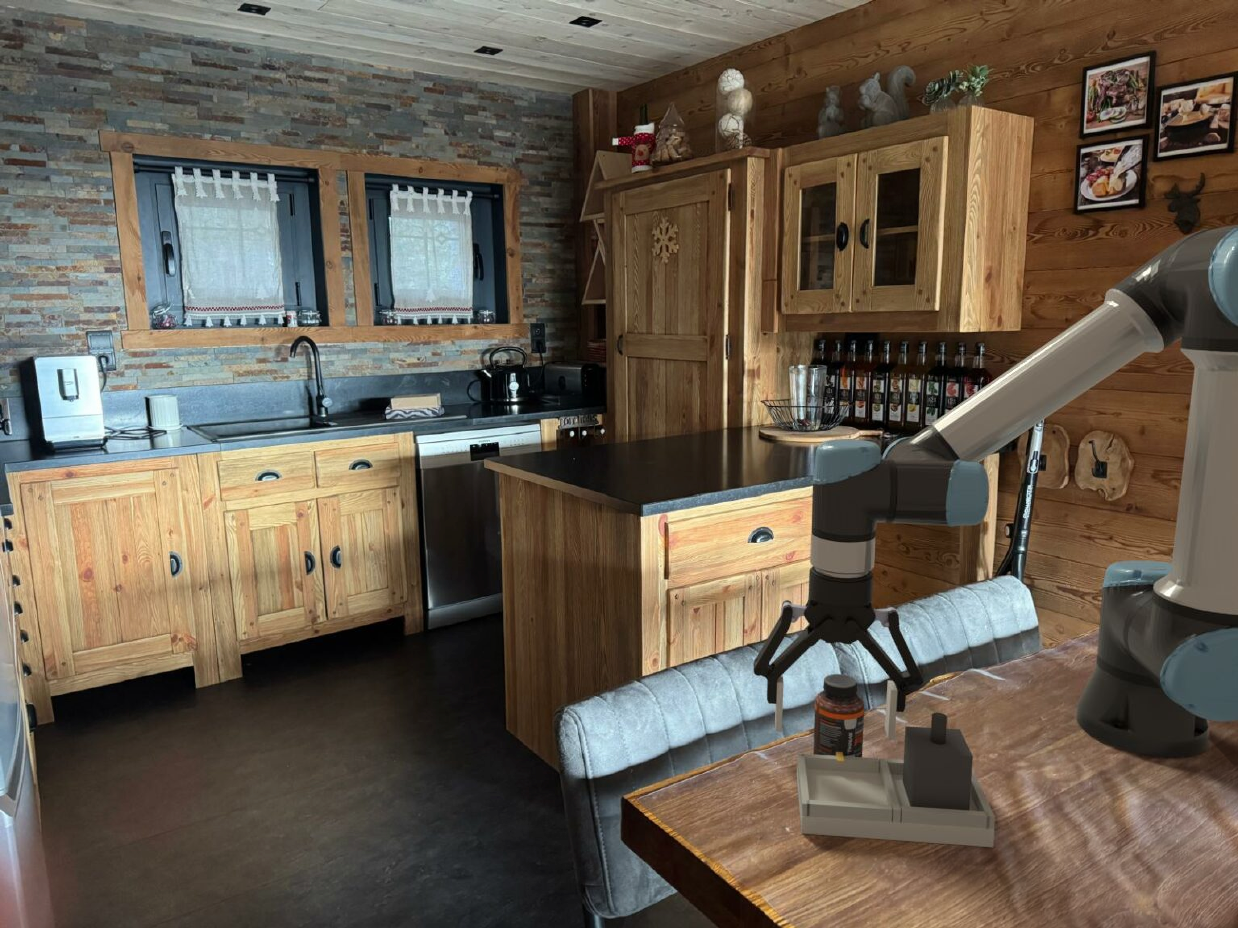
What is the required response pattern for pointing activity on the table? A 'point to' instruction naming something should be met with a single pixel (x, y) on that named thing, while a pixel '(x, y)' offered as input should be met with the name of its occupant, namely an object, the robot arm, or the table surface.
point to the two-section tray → (896, 809)
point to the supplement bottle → (839, 718)
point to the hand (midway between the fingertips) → (833, 730)
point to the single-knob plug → (937, 766)
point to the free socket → (839, 808)
